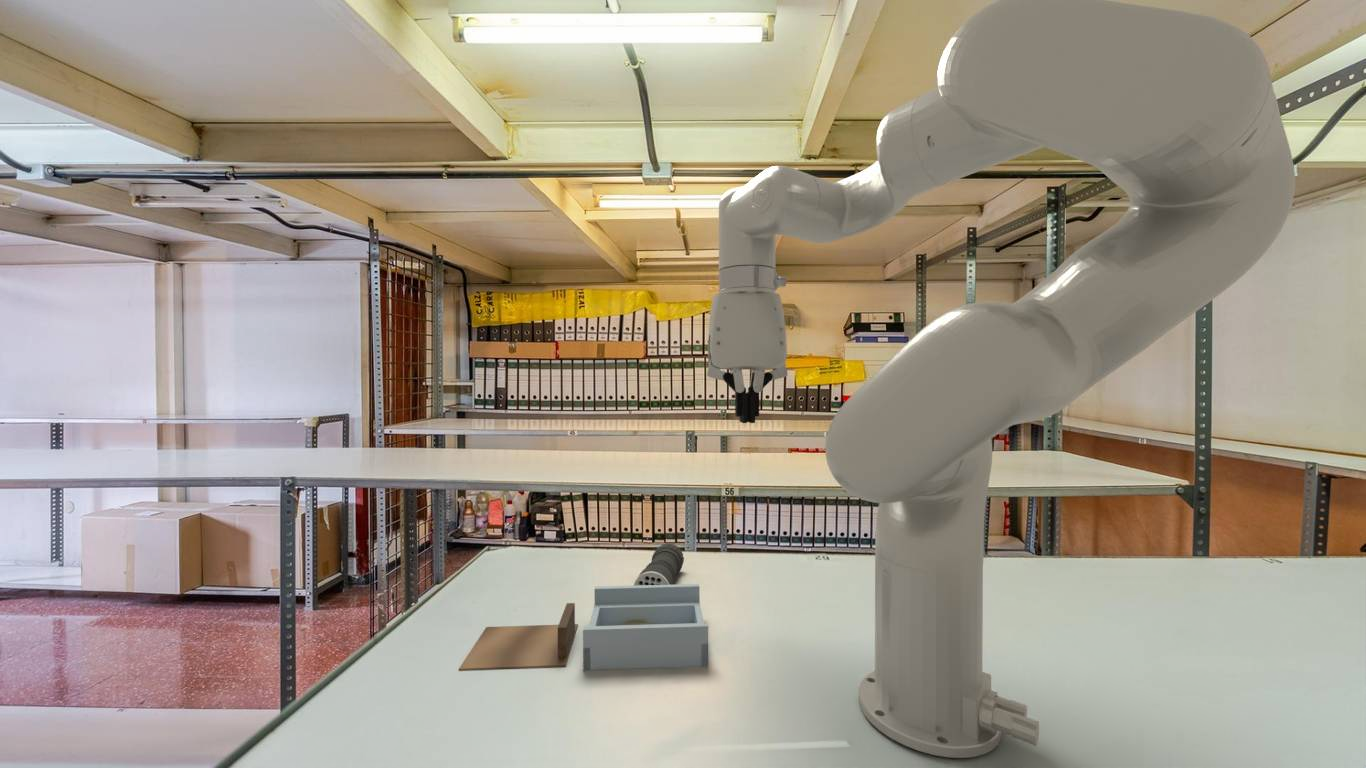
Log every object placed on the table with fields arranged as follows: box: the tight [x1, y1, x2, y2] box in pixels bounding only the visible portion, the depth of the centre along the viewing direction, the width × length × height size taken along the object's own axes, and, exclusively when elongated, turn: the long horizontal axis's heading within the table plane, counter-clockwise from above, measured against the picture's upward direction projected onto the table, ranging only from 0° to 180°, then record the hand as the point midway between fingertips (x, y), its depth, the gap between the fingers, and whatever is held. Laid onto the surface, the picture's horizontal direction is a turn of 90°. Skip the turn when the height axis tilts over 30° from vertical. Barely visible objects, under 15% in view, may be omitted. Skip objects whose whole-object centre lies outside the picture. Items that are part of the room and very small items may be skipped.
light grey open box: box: [582, 583, 709, 671], centre depth 64 cm, size 14×12×5 cm
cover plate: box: [458, 602, 579, 671], centre depth 63 cm, size 12×10×5 cm
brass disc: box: [622, 621, 650, 625], centre depth 66 cm, size 4×4×1 cm
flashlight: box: [633, 543, 685, 586], centre depth 82 cm, size 15×5×5 cm, turn 172°
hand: (747, 421), depth 70 cm, fingers closed
